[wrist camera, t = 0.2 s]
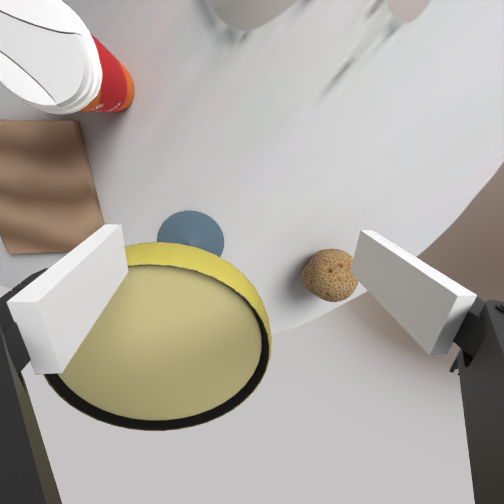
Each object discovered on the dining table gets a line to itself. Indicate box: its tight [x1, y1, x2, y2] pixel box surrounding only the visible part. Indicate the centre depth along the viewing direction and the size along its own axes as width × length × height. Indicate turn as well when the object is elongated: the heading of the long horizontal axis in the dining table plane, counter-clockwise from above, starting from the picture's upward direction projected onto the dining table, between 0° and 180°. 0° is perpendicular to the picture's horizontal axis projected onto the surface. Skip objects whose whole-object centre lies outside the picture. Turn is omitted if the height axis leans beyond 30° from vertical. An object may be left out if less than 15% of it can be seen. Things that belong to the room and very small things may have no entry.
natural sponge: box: [300, 249, 358, 302], centre depth 43 cm, size 9×9×10 cm
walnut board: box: [0, 120, 105, 254], centre depth 36 cm, size 18×14×2 cm
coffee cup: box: [0, 0, 134, 114], centre depth 26 cm, size 8×8×15 cm
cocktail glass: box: [43, 211, 271, 431], centre depth 31 cm, size 18×18×25 cm
